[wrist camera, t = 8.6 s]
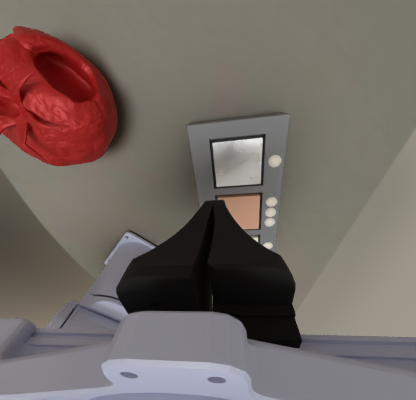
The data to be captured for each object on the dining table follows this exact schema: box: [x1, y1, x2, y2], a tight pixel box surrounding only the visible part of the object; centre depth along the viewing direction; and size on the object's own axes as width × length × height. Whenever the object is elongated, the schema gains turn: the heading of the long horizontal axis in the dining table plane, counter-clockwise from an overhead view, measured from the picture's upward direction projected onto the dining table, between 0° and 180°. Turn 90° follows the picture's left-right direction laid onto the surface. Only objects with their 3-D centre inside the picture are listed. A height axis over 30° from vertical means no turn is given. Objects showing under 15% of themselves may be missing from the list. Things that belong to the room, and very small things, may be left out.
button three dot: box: [218, 192, 260, 229], centre depth 21 cm, size 5×5×2 cm
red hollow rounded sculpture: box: [0, 26, 118, 166], centre depth 14 cm, size 10×10×9 cm
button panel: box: [187, 112, 290, 252], centre depth 21 cm, size 20×9×3 cm, turn 6°
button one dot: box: [213, 135, 263, 187], centre depth 18 cm, size 5×5×2 cm
